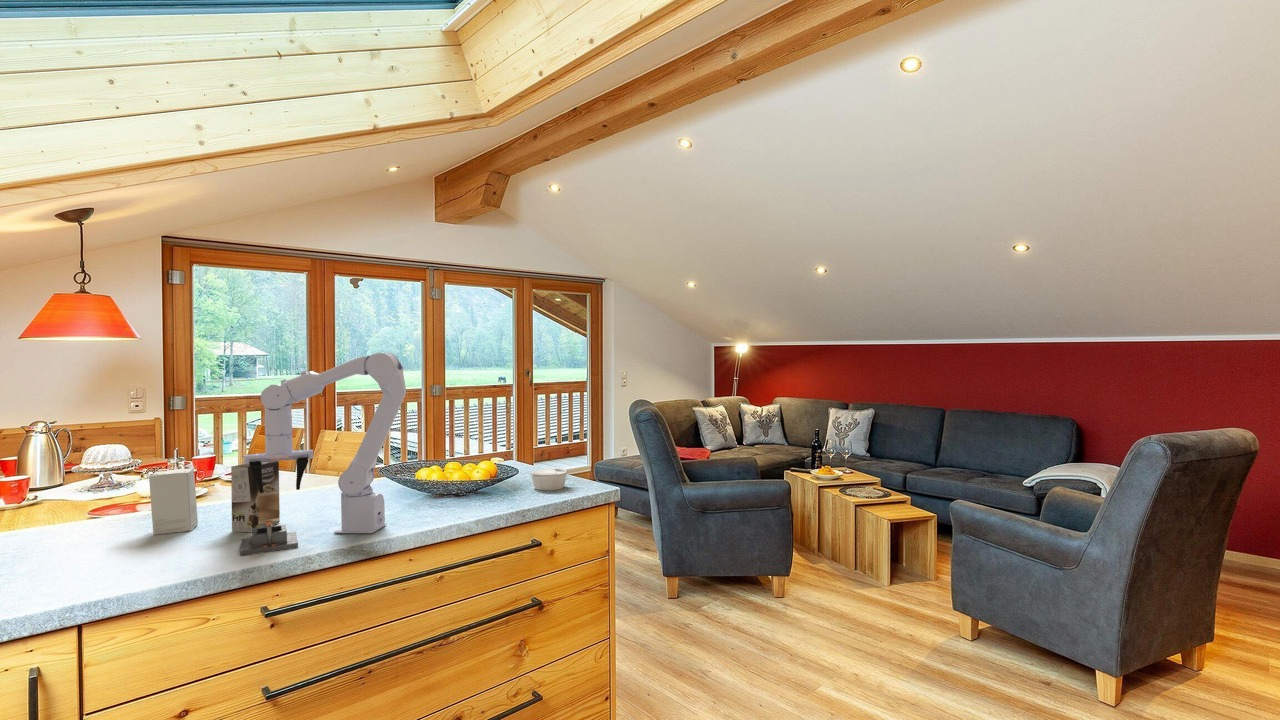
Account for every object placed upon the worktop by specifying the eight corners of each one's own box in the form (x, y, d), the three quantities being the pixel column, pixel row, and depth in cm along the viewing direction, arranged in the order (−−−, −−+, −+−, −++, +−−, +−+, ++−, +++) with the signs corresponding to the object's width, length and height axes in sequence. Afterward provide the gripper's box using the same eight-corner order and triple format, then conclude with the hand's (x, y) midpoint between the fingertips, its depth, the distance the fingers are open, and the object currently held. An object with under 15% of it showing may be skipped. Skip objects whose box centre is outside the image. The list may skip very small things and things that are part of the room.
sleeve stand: (296, 535, 155) (295, 508, 155) (298, 547, 145) (297, 518, 145) (241, 543, 149) (241, 515, 149) (240, 555, 140) (239, 525, 140)
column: (279, 517, 150) (278, 491, 150) (279, 521, 146) (279, 494, 146) (258, 520, 148) (258, 493, 148) (258, 524, 144) (257, 496, 144)
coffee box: (253, 532, 158) (252, 466, 158) (230, 531, 159) (229, 466, 159) (281, 523, 167) (280, 460, 167) (259, 522, 168) (258, 459, 168)
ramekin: (574, 487, 207) (574, 470, 206) (546, 493, 198) (546, 476, 198) (552, 482, 214) (551, 467, 214) (524, 488, 206) (524, 471, 206)
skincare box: (198, 525, 165) (196, 467, 165) (190, 531, 160) (189, 471, 159) (158, 529, 162) (157, 470, 162) (150, 535, 157) (148, 474, 156)
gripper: (242, 438, 149) (244, 497, 149) (313, 434, 156) (314, 490, 156) (243, 435, 155) (245, 492, 155) (311, 431, 162) (312, 485, 163)
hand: (279, 490), depth 156 cm, fingers open, 7 cm apart
